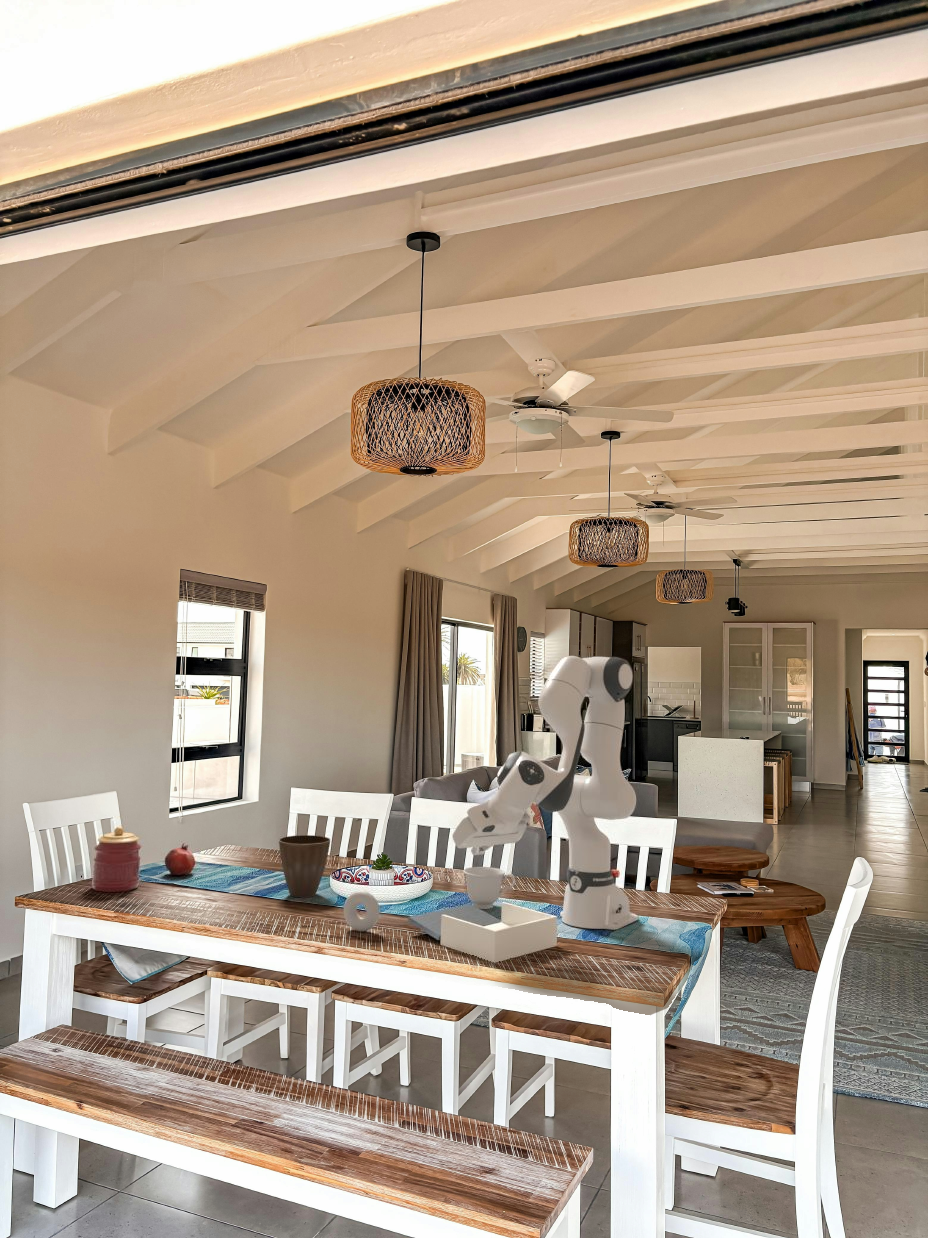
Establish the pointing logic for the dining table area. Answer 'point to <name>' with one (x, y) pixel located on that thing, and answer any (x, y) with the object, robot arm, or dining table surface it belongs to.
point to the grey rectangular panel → (467, 913)
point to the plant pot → (303, 862)
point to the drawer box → (501, 934)
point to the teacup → (485, 885)
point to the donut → (371, 909)
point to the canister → (116, 862)
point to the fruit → (180, 861)
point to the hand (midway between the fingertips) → (476, 853)
